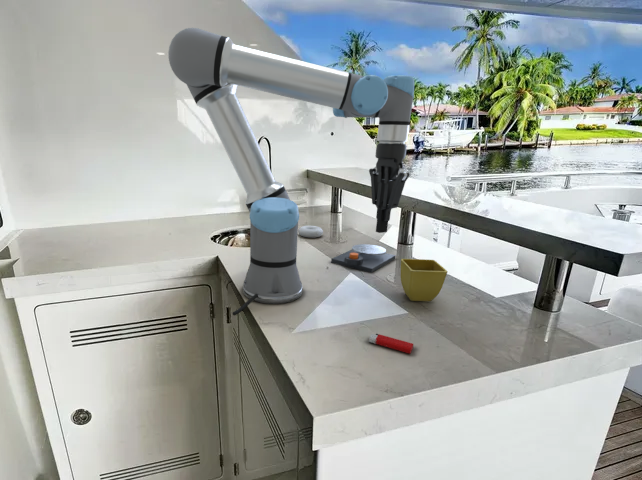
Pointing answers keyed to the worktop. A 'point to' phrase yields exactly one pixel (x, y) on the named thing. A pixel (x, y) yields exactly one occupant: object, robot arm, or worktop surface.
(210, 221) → the worktop surface
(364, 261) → the scale
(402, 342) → the lighter
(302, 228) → the donut
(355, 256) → the tare button
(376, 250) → the scale pan
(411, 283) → the flower pot
